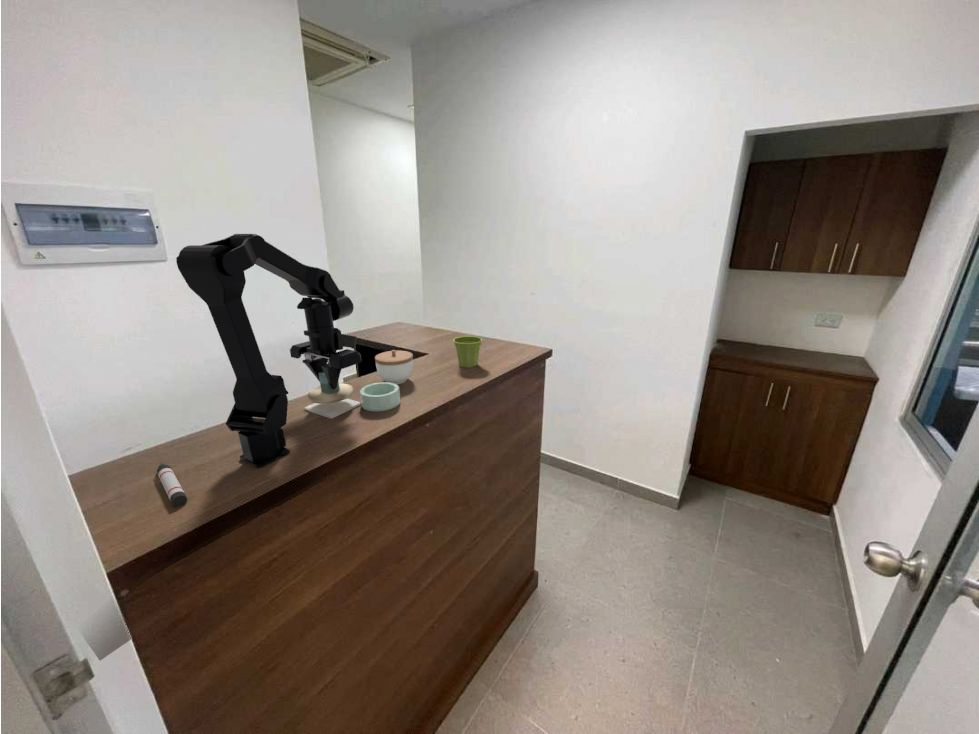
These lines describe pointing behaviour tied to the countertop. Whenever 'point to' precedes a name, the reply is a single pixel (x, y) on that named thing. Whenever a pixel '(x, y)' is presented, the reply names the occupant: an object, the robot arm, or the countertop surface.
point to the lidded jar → (394, 366)
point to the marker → (171, 485)
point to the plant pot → (468, 350)
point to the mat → (332, 408)
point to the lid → (329, 391)
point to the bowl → (380, 396)
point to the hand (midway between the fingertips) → (329, 387)
